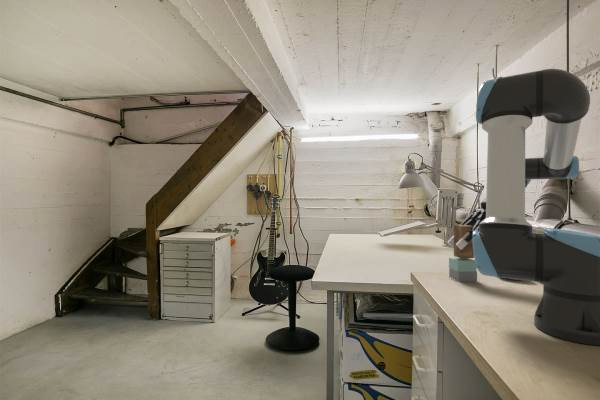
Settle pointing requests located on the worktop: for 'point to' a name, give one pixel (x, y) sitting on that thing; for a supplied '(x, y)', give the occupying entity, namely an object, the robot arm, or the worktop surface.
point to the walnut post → (458, 234)
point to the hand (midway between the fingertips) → (454, 245)
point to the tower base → (463, 276)
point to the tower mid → (462, 264)
